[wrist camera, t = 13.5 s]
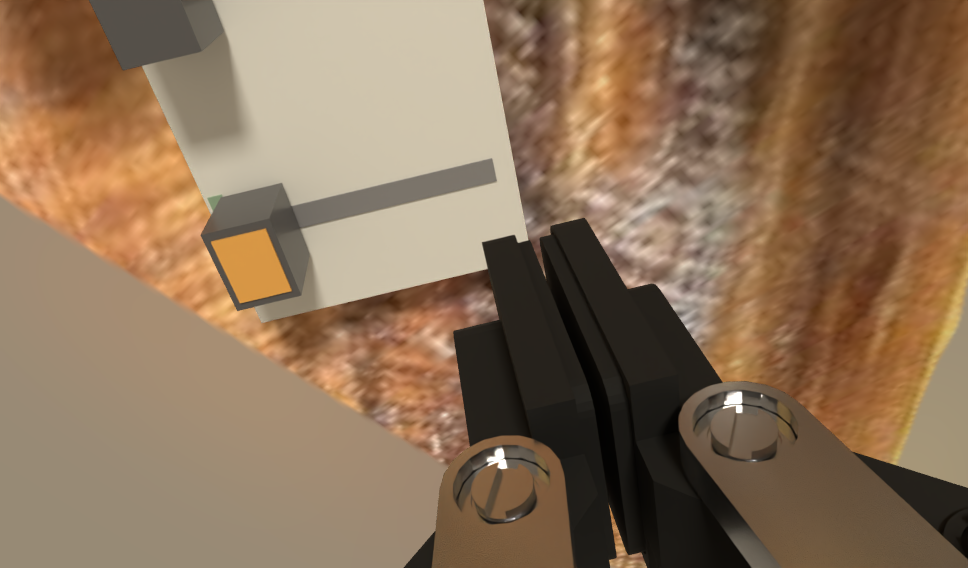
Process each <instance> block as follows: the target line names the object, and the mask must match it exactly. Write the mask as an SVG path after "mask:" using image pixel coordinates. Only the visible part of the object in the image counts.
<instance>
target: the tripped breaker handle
mask: <svg viewBox="0 0 968 568" xmlns="http://www.w3.org/2000/svg"><path fill="white" fill-rule="evenodd" d="M201 237H202V239H203V241H204V243H205V245H206V247H207V249H208V251H209V253H210V255H211V257H212V259H213V262H214V264H215V266H216V268H217V270H218V272H219V274H220V276H221V278H222V280H223V282H224V284H225V286H226V288H227V290H228V292H229V295H230V297H231V299H232V301H233V303H234V305H235V307H236V309H237V311H239V310H243V309H248V308H252V307H256V306H260V305H264V304H269V303H273V302H277V301H281V300H285V299H289V298H294V297H298V296H301V295H302V290H303V286H304V281H305V276H306V271H307V266H308V262H309V257H310V253H309V250H308V248H307V245H306V243H305V240H304V238H303V235H302V233H301V230H300V227H299V225H298V222H297V220H296V217H295V215H294V212H293V210H292V207H291V205H290V202H289V199H288V197H287V194H286V192H285V189H284V187H283V184H282V183H279V184H275V185H271V186H266V187H262V188H258V189H254V190H250V191H245V192H241V193H237V194H233V195H229V196H225V197H221V198H220V200H219V201H218V203H217V205H216V207H215V209H214V211H213V213H212V215H211V216H210V218H209V220H208V222H207V224H206V226H205V228H204V230H203V231H202V233H201Z"/></svg>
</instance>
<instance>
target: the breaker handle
mask: <svg viewBox="0 0 968 568" xmlns="http://www.w3.org/2000/svg"><path fill="white" fill-rule="evenodd" d="M89 1H90V3H91V5H92V7H93V10H94V12H95V14H96V16H97V18H98V20H99V22H100V24H101V26H102V28H103V30H104V32H105V34H106V36H107V38H108V41H109V43H110V45H111V47H112V49H113V51H114V53H115V55H116V57H117V59H118V61H119V63H120V65H121V67H122V70H127V69H131V68H135V67H139V66H143V65H148V64H152V63H156V62H160V61H164V60H169V59H173V58H177V57H181V56H185V55H190V54H194V53H198V52H202V51H203V50H204V49H205V48H206V47H208V46H209V45H210V44H211V43H212V42H213V41H214V40H215V39H217V38H218V37H219V36H220V35H221V34H222V33H223V32H224V29H223V27H222V24H221V21H220V19H219V16H218V14H217V11H216V9H215V6H214V3H213V1H212V0H89Z"/></svg>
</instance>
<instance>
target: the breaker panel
mask: <svg viewBox="0 0 968 568" xmlns="http://www.w3.org/2000/svg"><path fill="white" fill-rule="evenodd" d="M212 1H213V3H214V6H215V9H216V11H217V14H218V16H219V19H220V21H221V24H222V27H223V29H224V32H223V33H222V34H221V35H220V36H219V37H218V38H217V39H215V40H214V41H213V42H212V43H211V44H210V45H209V46H208V47H206V48H205V49H204V50H203V51H202V52H198V53H194V54H190V55H185V56H181V57H177V58H173V59H169V60H164V61H160V62H156V63H152V64H148V65H143V66H142V68H143V70H144V72H145V74H146V76H147V78H148V80H149V83H150V85H151V87H152V89H153V91H154V93H155V95H156V98H157V100H158V102H159V104H160V106H161V108H162V110H163V113H164V115H165V117H166V119H167V121H168V123H169V125H170V128H171V130H172V132H173V134H174V136H175V138H176V140H177V143H178V145H179V147H180V149H181V151H182V153H183V155H184V158H185V160H186V162H187V164H188V166H189V168H190V170H191V173H192V175H193V177H194V179H195V181H196V183H197V185H198V188H199V190H200V192H201V194H202V196H203V198H204V200H205V203H206V205H207V207H208V209H209V211H210V213H211V215H212V213H213V211H214V209H215V207H216V205H217V203H218V201H219V200H220V198H221V197H225V196H229V195H233V194H237V193H241V192H245V191H250V190H254V189H258V188H262V187H266V186H271V185H275V184H279V183H282V184H283V187H284V189H285V192H286V194H287V197H288V199H289V202H290V205H291V207H292V210H293V212H294V215H295V217H296V220H297V222H298V225H299V227H300V230H301V233H302V235H303V238H304V240H305V243H306V245H307V248H308V250H309V253H310V257H309V262H308V266H307V271H306V276H305V281H304V286H303V290H302V295H301V296H298V297H294V298H289V299H285V300H281V301H277V302H273V303H269V304H264V305H260V306H256V307H254V308H255V310H256V312H257V314H258V316H259V318H260V320H261V323H263V322H267V321H272V320H276V319H280V318H284V317H288V316H293V315H297V314H301V313H305V312H309V311H313V310H318V309H322V308H326V307H330V306H334V305H338V304H343V303H347V302H351V301H355V300H359V299H364V298H368V297H372V296H376V295H380V294H384V293H389V292H393V291H397V290H401V289H405V288H410V287H414V286H418V285H422V284H426V283H430V282H435V281H439V280H443V279H447V278H451V277H456V276H460V275H464V274H468V273H472V272H476V271H481V270H485V269H488V268H487V264H486V259H485V255H484V251H483V246H482V242H485V241H489V240H494V239H498V238H502V237H506V236H510V235H515V236H516V239H517V242H518V243H519V242H523V241H528V237H527V232H526V226H525V221H524V216H523V210H522V205H521V200H520V194H519V189H518V184H517V178H516V173H515V168H514V162H513V157H512V152H511V146H510V141H509V136H508V130H507V125H506V120H505V114H504V109H503V104H502V98H501V93H500V88H499V82H498V77H497V72H496V66H495V61H494V56H493V50H492V45H491V40H490V34H489V29H488V24H487V18H486V13H485V8H484V2H483V0H212Z"/></svg>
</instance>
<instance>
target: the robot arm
mask: <svg viewBox="0 0 968 568" xmlns="http://www.w3.org/2000/svg"><path fill="white" fill-rule="evenodd" d="M550 232H551V235H549V236H544V237H540V246H541V252H542V258H543V263H544V269H545V274H546V279H545V276H544V274H543V271H542V269H541V266H540V264H539V261H538V259H537V256H536V254H535V251H534V249H533V246H532V244H531V242H530V240H528V241H523V242H519V243H518V242H517V239H516V236H515V235H510V236H506V237H502V238H498V239H494V240H489V241H485V242H482V246H483V251H484V255H485V259H486V264H487V268H488V272H489V277H490V281H491V285H492V290H493V294H494V298H495V303H496V307H497V311H498V316H499V320H497V321H493V322H489V323H485V324H480V325H476V326H472V327H468V328H464V329H460V330H455V331H454V332H453V334H454V342H455V348H456V355H457V362H458V369H459V375H460V382H461V389H462V396H463V402H464V409H465V416H466V423H467V429H468V436H469V443H470V447H469V448H467V449H466V450H464V451H463V452H462V453H461V454H460V455H459V456H457V457H456V458H455V459H454V460H453V461H452V463H451V464H450V466H449V467H448V469H447V470H446V472H445V473H444V475H443V479H442V483H441V486H440V490H439V500H438V510H437V521H436V531H435V532H434V533H433V534H432V535H431V536H430V538H429V539H428V540H427V541H426V542H425V544H424V545H423V546H422V547H421V548H420V549H419V550H418V552H417V553H416V554H415V555H414V556H413V557H412V559H411V560H410V561H409V562H408V563H407V564H406V566H405V567H404V568H610V564H609V560H611V559H615V558H616V557H617V556H616V549H615V542H614V535H613V529H612V522H611V515H610V509H609V505H610V508H611V511H612V513H613V516H614V519H615V522H616V525H617V527H618V530H619V533H620V536H621V538H622V541H623V544H624V547H625V549H626V552H627V554H628V555H631V554H636V553H640V552H641V553H642V555H643V558H644V560H645V563H646V566H647V568H968V488H966V487H963V486H960V485H956V484H953V483H950V482H947V481H944V480H940V479H937V478H934V477H931V476H928V475H925V474H921V473H918V472H915V471H912V470H908V469H905V468H902V467H899V466H896V465H893V464H890V463H886V462H883V461H880V460H877V459H874V458H871V457H867V456H864V455H861V454H858V453H855V452H852V451H851V450H850V449H849V448H847V447H846V446H845V445H844V444H843V443H842V442H841V441H840V440H839V439H838V438H837V437H836V436H835V435H834V434H832V433H831V432H830V431H829V430H828V429H827V428H826V427H825V426H824V425H823V424H822V423H821V422H820V421H818V420H817V419H816V418H815V417H814V416H813V415H812V414H811V413H810V412H809V411H808V410H807V409H806V408H805V407H803V406H802V405H801V404H800V403H799V402H798V401H796V400H795V399H793V398H792V397H790V396H789V395H788V394H786V393H785V392H783V391H780V390H778V389H775V388H773V387H770V386H768V385H764V384H758V383H753V382H747V381H739V382H722V381H721V379H720V378H719V376H718V375H717V373H716V372H715V370H714V369H713V367H712V366H711V364H710V363H709V361H708V360H707V359H706V357H705V356H704V354H703V353H702V351H701V350H700V348H699V347H698V345H697V344H696V342H695V341H694V339H693V338H692V336H691V335H690V333H689V332H688V330H687V329H686V327H685V326H684V324H683V323H682V322H681V320H680V319H679V317H678V316H677V314H676V313H675V311H674V310H673V308H672V307H671V305H670V304H669V302H668V301H667V299H666V298H665V296H664V295H663V293H662V292H661V290H660V289H659V288H658V287H657V286H656V285H655V284H648V285H643V286H639V287H635V288H631V289H627V288H626V286H625V284H624V283H623V281H622V279H621V277H620V276H619V274H618V272H617V271H616V269H615V267H614V266H613V264H612V262H611V261H610V259H609V257H608V256H607V254H606V252H605V251H604V249H603V247H602V246H601V244H600V242H599V241H598V239H597V237H596V236H595V234H594V232H593V230H592V229H591V227H590V225H589V224H588V222H587V220H586V219H585V218H582V219H577V220H573V221H569V222H565V223H561V224H556V225H552V226H551V227H550ZM546 280H547V281H546Z"/></svg>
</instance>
